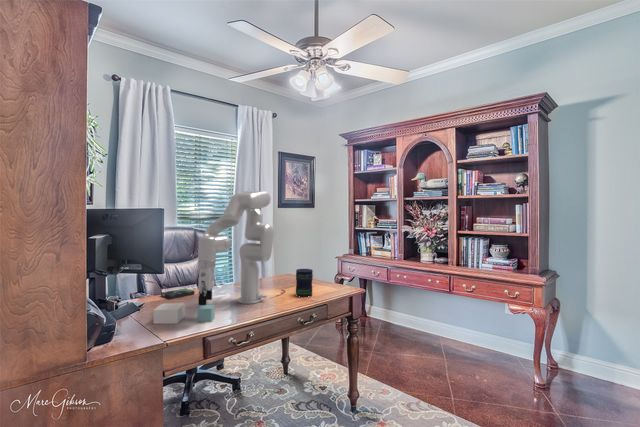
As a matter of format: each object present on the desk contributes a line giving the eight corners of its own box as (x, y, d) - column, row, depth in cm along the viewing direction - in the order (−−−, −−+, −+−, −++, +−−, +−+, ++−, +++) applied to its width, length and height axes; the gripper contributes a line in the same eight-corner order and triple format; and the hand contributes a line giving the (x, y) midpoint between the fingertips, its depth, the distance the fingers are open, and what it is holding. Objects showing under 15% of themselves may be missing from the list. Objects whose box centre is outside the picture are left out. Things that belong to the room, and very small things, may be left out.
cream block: (184, 316, 156) (185, 303, 155) (177, 323, 146) (177, 309, 146) (162, 316, 155) (162, 303, 155) (153, 323, 145) (153, 309, 145)
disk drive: (170, 300, 183) (194, 295, 195) (170, 295, 183) (194, 290, 195) (160, 297, 190) (185, 292, 201) (160, 292, 190) (185, 287, 201)
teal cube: (214, 317, 155) (214, 304, 154) (211, 322, 149) (211, 308, 148) (201, 317, 154) (201, 304, 154) (197, 322, 148) (197, 308, 148)
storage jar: (308, 298, 191) (309, 272, 191) (292, 296, 194) (293, 270, 194) (314, 294, 200) (315, 269, 200) (299, 292, 204) (300, 268, 204)
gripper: (210, 267, 143) (208, 307, 142) (219, 261, 160) (218, 297, 159) (192, 266, 142) (190, 307, 142) (203, 261, 159) (202, 297, 159)
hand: (205, 302), depth 151 cm, fingers open, 9 cm apart
